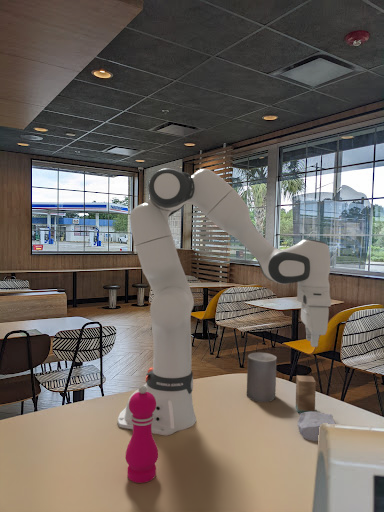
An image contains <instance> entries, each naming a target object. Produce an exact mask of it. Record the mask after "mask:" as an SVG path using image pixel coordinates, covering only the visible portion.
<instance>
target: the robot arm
mask: <svg viewBox="0 0 384 512" xmlns="http://www.w3.org/2000/svg"><path fill="white" fill-rule="evenodd" d="M147 185H148V188H147V190H148V191H147V192H148V195H149V198H148V200H146V202H144V203H141V204H138V205H137V206H135V207H134V208H133V209H132V210H131V212H130V214H129V215H130V216H129V221H130V229H131V234H132V238H133V243H134V246H135V249H136V253H137V257H138V260H139V263H140V267H141V270H142V273H143V275H144V276H145V278H146V280H147V282H148V284H149V286H150V288H151V291H152V293H153V298H152V300H151V303H150V306H149V314H150V326H151V336H152V343H153V344H152V345H153V348H152V349H153V352H152V353H153V357H152V359H153V362H152V364H153V366H152V367H149V368H148V370H147V373H146V376H145V384H143V385H142V386H145V387H146V388H147V391H146V392H149V393H151V394H152V395H153V396H154V397H155V400H156V409H155V410H154V412H153V414H154V417H153V418H154V421H153V422H152V425H151V430H152V434H155V435H160V436H161V435H162V436H170V435H172V434H174V433H175V432H176V433H177V432H179V431H183V430H187V429H189V428H190V427H192V426H194V425H195V423H196V421H197V417H196V414H195V413H196V412H195V409H194V404H193V389H194V376H193V373H194V372H193V370H192V347H193V346H192V328H191V327H192V325H191V320H192V319H191V315H192V311H193V309H194V305H195V302H194V301H195V300H194V295H193V293H192V291H191V290H192V289H191V288H190V285H189V281H188V279H187V276H186V274H185V271H184V268H183V266H182V263H181V260H180V257H179V254H178V251H177V247H176V243H175V241H174V237H173V233H172V231H171V227H170V223H169V217H171V216H173V215H174V214H176V213H177V212H179V211H180V210H181V209H183V207H185V205H186V204H190V205H193V206H194V207H196V208H197V209H199V210H200V212H201V213H202V214H203V215H204V216H205V217H207V219H209V221H211V222H212V223H213V224H214V225H215V226H217V228H219V229H221V230H222V231H224V232H225V233H226V234H228V235H230V236H232V237H234V238H235V239H236V240H238V241H239V242H240V243H241V245H243V247H244V248H245V249H247V251H248V252H249V253H250V254H251V255H252V256H253V257H254V258H255V259H256V261H257V263H258V265H259V268H260V271H261V273H262V274H263V276H264V277H265V278H266V279H268V280H269V281H271V282H275V283H277V284H280V285H289V284H294V283H297V292H296V293H297V295H296V301H297V302H300V305H301V306H300V320H301V322H302V323H303V324H304V325H305V326H304V327H305V333H306V336H305V337H306V338H305V339H306V340H307V341H308V342H310V346H311V347H313V348H318V346H319V339H320V336H325V335H326V334H327V331H328V323H329V316H330V315H329V313H330V309H329V307H331V306H332V298H331V296H330V295H331V293H330V289H331V288H330V287H331V285H330V281H329V277H330V273H331V255H330V248H329V245H328V244H327V243H326V242H324V241H322V240H317V239H311V238H303V239H301V240H300V241H299V242H297V243H296V244H294V245H292V246H289V247H287V248H283V249H279V248H277V247H276V246H275V247H274V246H273V245H272V244H271V243H270V242H269V241H268V240H267V239H266V238H265V237H264V236H263V235H262V233H260V231H258V229H257V227H255V225H254V223H253V221H252V219H251V215H250V210H249V207H248V205H247V204H246V202H245V200H244V199H243V198H242V196H241V195H240V194H239V193H238V191H236V190H235V188H233V187H232V186H231V185H230V184H229V182H227V181H225V179H223V178H222V177H221V176H220V175H218V174H217V173H216V172H214V171H212V170H211V169H208V168H202V169H199V170H197V171H196V172H194V173H193V174H192V175H191V174H190V173H188V172H185V171H180V170H177V169H173V168H162V169H160V170H157V171H156V172H155V173H154V174H153V175H152V176H151V177H150V179H149V182H148V184H147ZM137 392H139V388H138V389H137V390H135V391H134V392H132V393H131V395H130V396H129V398H128V401H127V403H126V406H125V408H123V409H122V411H120V413H119V415H118V417H117V425H118V427H119V428H122V429H127V430H133V423H132V422H131V415H132V413H131V411H130V409H129V401H130V398H131V397H132V396H133V395H134V394H135V393H137Z"/></svg>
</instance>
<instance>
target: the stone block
mask: <svg viewBox="0 0 384 512" xmlns="http://www.w3.org/2000/svg"><path fill="white" fill-rule="evenodd" d="M323 423H328V424H336V423H335V421H334V416H333V414H332V413H330V414H328V413H324V412H320V411H316V410H315V411H314V412H313V411H310V412H304V413H299V417H298V421H297V426H298V430H299V431H298V432H299V434H300V435H301V436H302V437H303V438H304V440H309V441H313V442H319V441H318V435H319V427H320V425H321V424H323Z"/></svg>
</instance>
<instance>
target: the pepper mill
mask: <svg viewBox="0 0 384 512" xmlns="http://www.w3.org/2000/svg"><path fill="white" fill-rule="evenodd" d="M138 389H139V392H137V393H135V394H134V395H133V396H132V397H131V398H130V397H129V398H130V401H129V409H130V411H131V413H132V415H131V422H132V423H133V429H132V435H131V437H130V440H129V443H128V445H127V446H126V450H125V461H126V463H127V465H128V466H127V478H128V480H130V481H131V482H133V483H137V484H143V483H144V484H145V483H148V482H150V481H152V480H153V479H154V478H156V474H157V465H156V463H157V461H158V459H159V449H158V445H157V443H156V441H155V439H154V436H153V433H152V430H151V425H152V422H153V421H154V418H153V417H154V414H153V412H154V410H155V409H156V400H155V397H154V396H153V395H152V394H151V393H149V392H146V391H147V388H146V387H145V386H143V385H140V386H139V388H138Z"/></svg>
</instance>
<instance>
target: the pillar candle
mask: <svg viewBox="0 0 384 512" xmlns="http://www.w3.org/2000/svg"><path fill="white" fill-rule="evenodd" d="M246 369H247V371H246V372H247V373H246V375H247V376H246V397H247V398H248V399H250V400H252V401H255V402H260V403H262V402H263V403H265V402H266V403H267V402H272V401H273V400H274V399H276V395H277V394H276V391H277V390H276V387H277V356H276V355H274V354H271V353H268V352H261V351H259V352H252V353H251V352H250V353H249V354H248V355H247V368H246Z"/></svg>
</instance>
